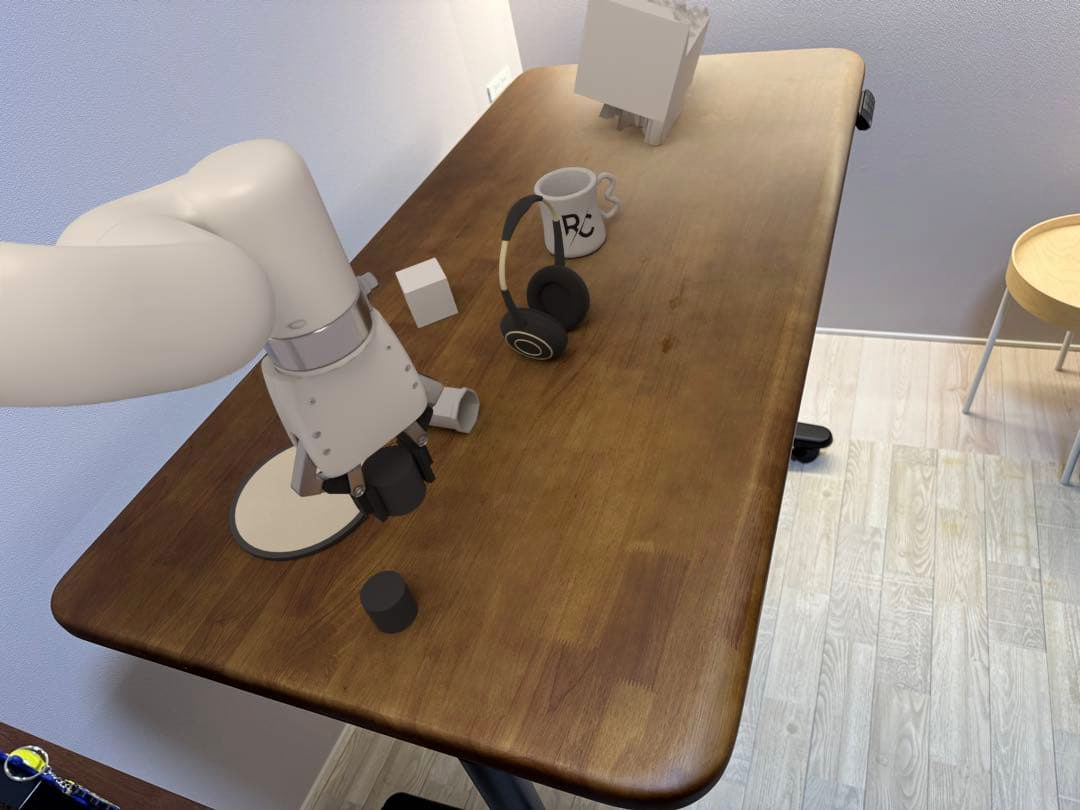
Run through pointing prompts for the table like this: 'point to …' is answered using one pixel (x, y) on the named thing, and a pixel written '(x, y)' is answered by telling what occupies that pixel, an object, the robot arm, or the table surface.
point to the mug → (575, 208)
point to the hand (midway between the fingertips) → (399, 491)
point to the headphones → (542, 295)
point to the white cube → (427, 292)
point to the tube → (456, 409)
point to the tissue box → (640, 61)
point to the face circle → (287, 513)
